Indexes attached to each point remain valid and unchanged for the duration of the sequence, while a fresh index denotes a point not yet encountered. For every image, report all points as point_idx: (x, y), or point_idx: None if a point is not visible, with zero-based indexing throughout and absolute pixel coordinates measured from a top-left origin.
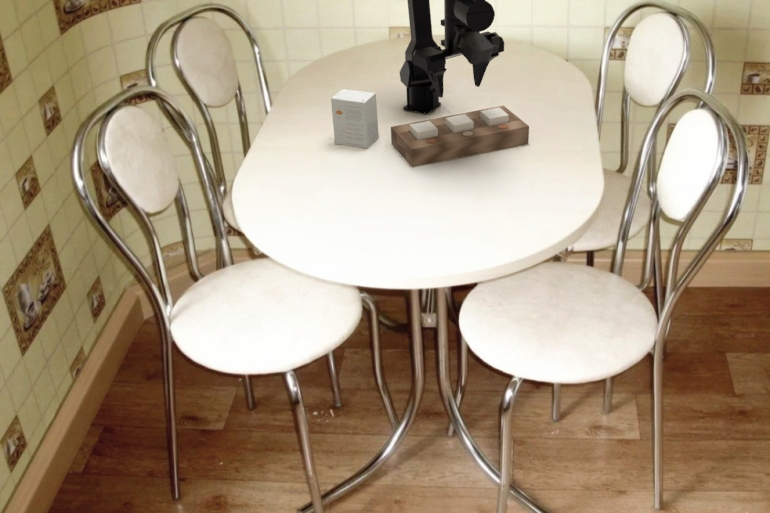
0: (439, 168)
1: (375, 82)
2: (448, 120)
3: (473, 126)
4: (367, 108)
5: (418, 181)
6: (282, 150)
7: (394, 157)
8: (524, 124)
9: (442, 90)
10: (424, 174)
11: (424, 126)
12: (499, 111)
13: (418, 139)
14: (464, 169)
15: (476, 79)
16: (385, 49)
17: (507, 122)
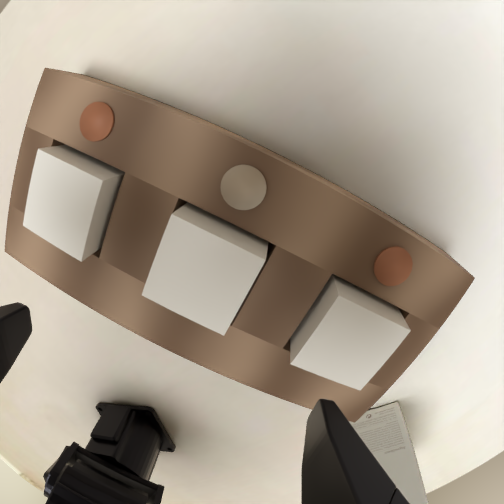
0: (411, 177)
1: None
2: (236, 311)
3: (179, 208)
4: (411, 489)
5: (498, 180)
6: (451, 464)
7: None
8: (42, 88)
9: (342, 436)
10: (463, 192)
11: (348, 347)
12: (39, 200)
13: (399, 313)
14: (369, 101)
15: (4, 345)
16: None
17: (60, 147)
